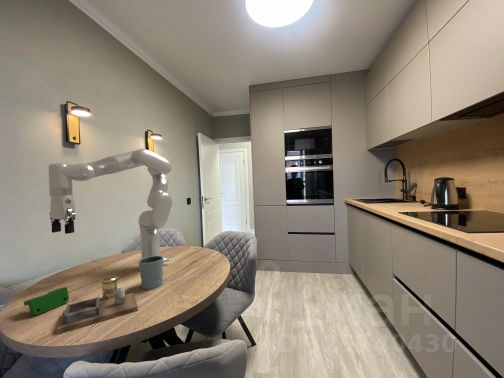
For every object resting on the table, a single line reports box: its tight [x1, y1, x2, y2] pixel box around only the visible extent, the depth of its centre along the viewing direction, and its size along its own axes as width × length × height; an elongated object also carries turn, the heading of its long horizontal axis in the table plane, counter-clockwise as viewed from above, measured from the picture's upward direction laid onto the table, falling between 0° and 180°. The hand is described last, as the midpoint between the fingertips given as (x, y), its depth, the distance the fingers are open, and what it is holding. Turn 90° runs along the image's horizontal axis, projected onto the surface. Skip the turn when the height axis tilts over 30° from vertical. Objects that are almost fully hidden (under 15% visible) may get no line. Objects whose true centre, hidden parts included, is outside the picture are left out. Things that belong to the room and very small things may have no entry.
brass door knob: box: [100, 274, 119, 301], centre depth 91 cm, size 6×6×8 cm
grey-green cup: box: [138, 255, 164, 291], centre depth 101 cm, size 10×10×12 cm
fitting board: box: [56, 287, 139, 335], centre depth 80 cm, size 22×13×6 cm, turn 123°
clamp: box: [23, 286, 70, 316], centre depth 85 cm, size 12×6×9 cm, turn 154°
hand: (63, 232), depth 96 cm, fingers open, 9 cm apart
